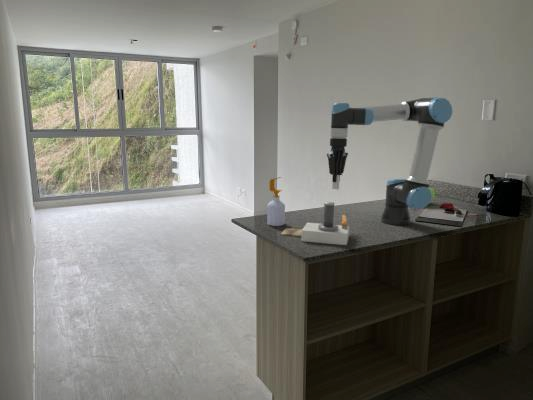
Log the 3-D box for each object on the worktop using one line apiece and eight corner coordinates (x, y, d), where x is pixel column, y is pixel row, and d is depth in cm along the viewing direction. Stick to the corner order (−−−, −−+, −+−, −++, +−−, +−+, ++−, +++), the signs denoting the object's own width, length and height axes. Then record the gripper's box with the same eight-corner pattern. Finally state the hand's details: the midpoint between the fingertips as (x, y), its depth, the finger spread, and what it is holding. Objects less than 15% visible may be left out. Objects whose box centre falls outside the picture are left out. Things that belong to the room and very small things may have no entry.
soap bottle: (279, 227, 206) (279, 178, 201) (263, 224, 210) (264, 177, 205) (287, 223, 213) (288, 176, 208) (272, 221, 218) (273, 175, 213)
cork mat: (305, 230, 200) (305, 229, 200) (302, 236, 190) (302, 235, 190) (285, 229, 202) (285, 228, 202) (281, 234, 193) (281, 233, 193)
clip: (347, 225, 184) (347, 223, 184) (341, 225, 185) (341, 222, 185) (346, 217, 199) (346, 215, 199) (341, 217, 200) (341, 214, 199)
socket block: (348, 236, 192) (349, 223, 190) (346, 245, 178) (347, 231, 177) (306, 232, 197) (307, 219, 195) (301, 241, 183) (301, 227, 182)
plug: (340, 238, 188) (341, 202, 185) (334, 243, 180) (335, 205, 177) (321, 235, 192) (322, 200, 189) (314, 240, 184) (316, 203, 181)
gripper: (340, 137, 193) (337, 186, 198) (323, 137, 184) (320, 189, 189) (353, 138, 188) (350, 188, 192) (336, 138, 179) (333, 191, 184)
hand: (335, 188), depth 191 cm, fingers closed
